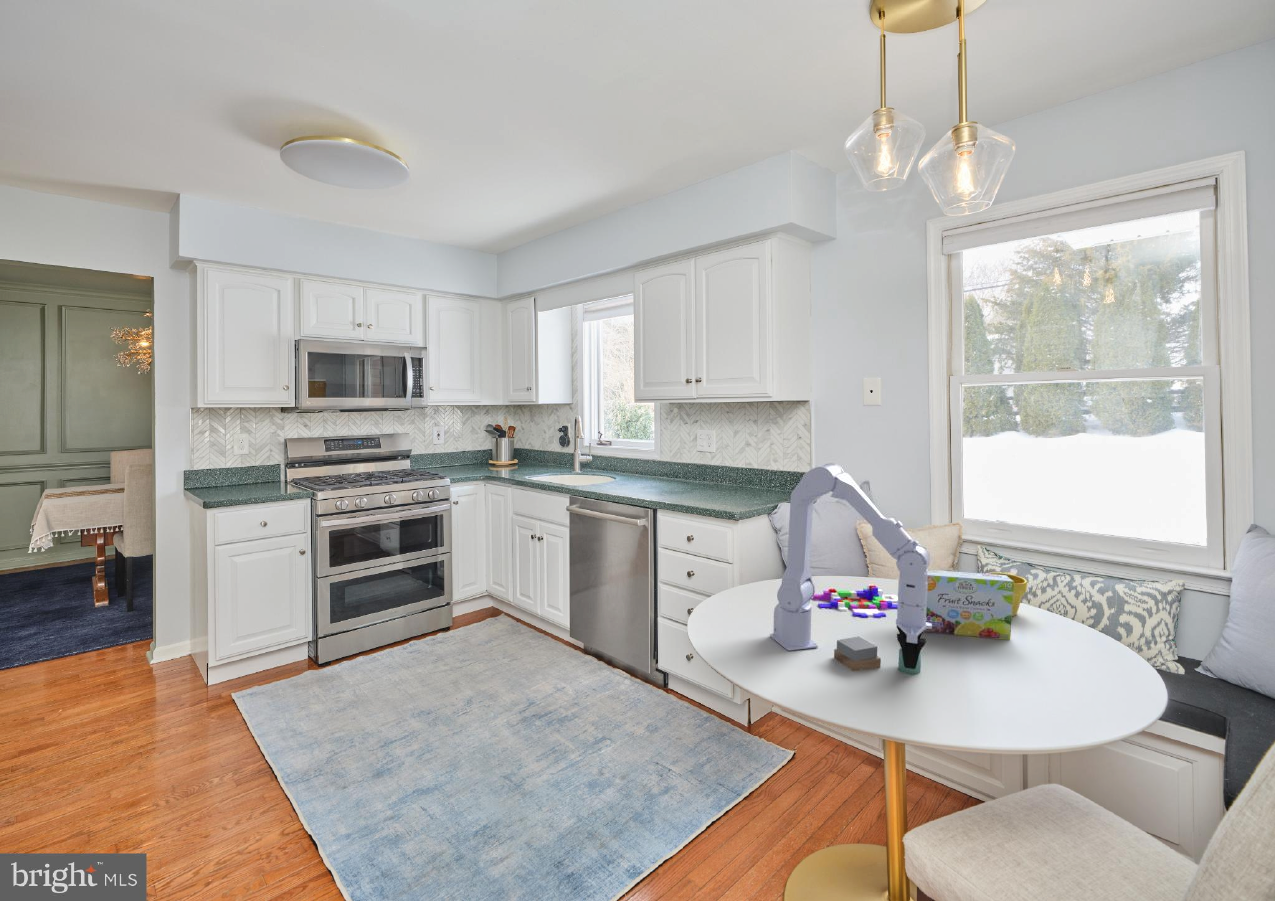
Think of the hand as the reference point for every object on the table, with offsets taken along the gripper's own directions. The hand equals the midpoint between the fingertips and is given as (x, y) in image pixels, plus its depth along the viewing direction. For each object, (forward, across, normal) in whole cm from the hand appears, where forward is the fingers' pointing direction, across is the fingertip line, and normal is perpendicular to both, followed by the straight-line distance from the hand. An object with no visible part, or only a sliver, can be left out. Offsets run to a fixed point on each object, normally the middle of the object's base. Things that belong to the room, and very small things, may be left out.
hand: (909, 663), depth 133 cm
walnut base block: (+2, 0, +11) cm, 11 cm away
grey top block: (-1, -1, +11) cm, 11 cm away
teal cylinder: (+1, 0, 0) cm, 1 cm away
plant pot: (+2, +49, -25) cm, 55 cm away
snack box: (+2, +28, -12) cm, 31 cm away
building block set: (+2, +40, +12) cm, 42 cm away
